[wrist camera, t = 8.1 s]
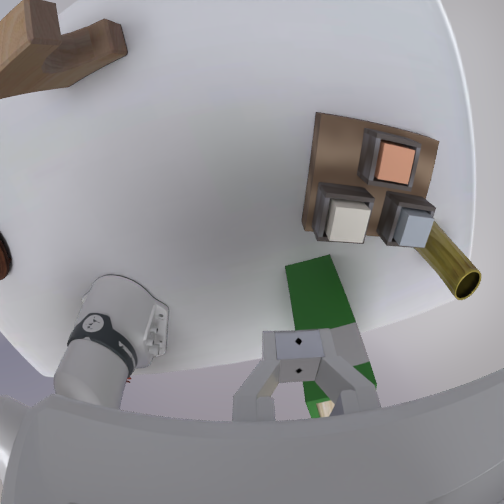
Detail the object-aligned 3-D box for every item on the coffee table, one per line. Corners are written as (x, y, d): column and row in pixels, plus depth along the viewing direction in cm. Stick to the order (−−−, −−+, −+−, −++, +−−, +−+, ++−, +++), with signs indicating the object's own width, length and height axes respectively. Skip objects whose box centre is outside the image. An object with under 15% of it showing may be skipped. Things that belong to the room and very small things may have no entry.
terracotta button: (396, 176, 33) (407, 184, 30) (368, 171, 33) (377, 179, 30) (403, 144, 31) (415, 150, 28) (373, 138, 30) (384, 143, 28)
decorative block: (121, 22, 25) (27, -7, 8) (129, 55, 28) (31, 43, 11) (60, 57, 26) (-42, 65, 9) (66, 88, 29) (-36, 111, 12)
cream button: (354, 230, 36) (362, 242, 33) (323, 228, 36) (329, 240, 33) (361, 200, 34) (370, 210, 31) (329, 196, 33) (336, 206, 31)
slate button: (414, 236, 36) (424, 247, 34) (390, 233, 36) (399, 245, 33) (423, 208, 34) (434, 218, 31) (398, 204, 34) (409, 215, 31)
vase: (412, 254, 44) (450, 308, 32) (408, 226, 41) (453, 278, 29) (439, 243, 43) (481, 292, 31) (437, 214, 40) (485, 261, 28)
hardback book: (340, 325, 53) (369, 434, 33) (304, 334, 54) (322, 446, 34) (329, 254, 44) (376, 384, 24) (285, 266, 45) (305, 402, 25)
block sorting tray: (405, 230, 42) (424, 253, 36) (301, 221, 41) (310, 246, 35) (428, 136, 33) (455, 148, 27) (315, 112, 33) (329, 117, 27)
